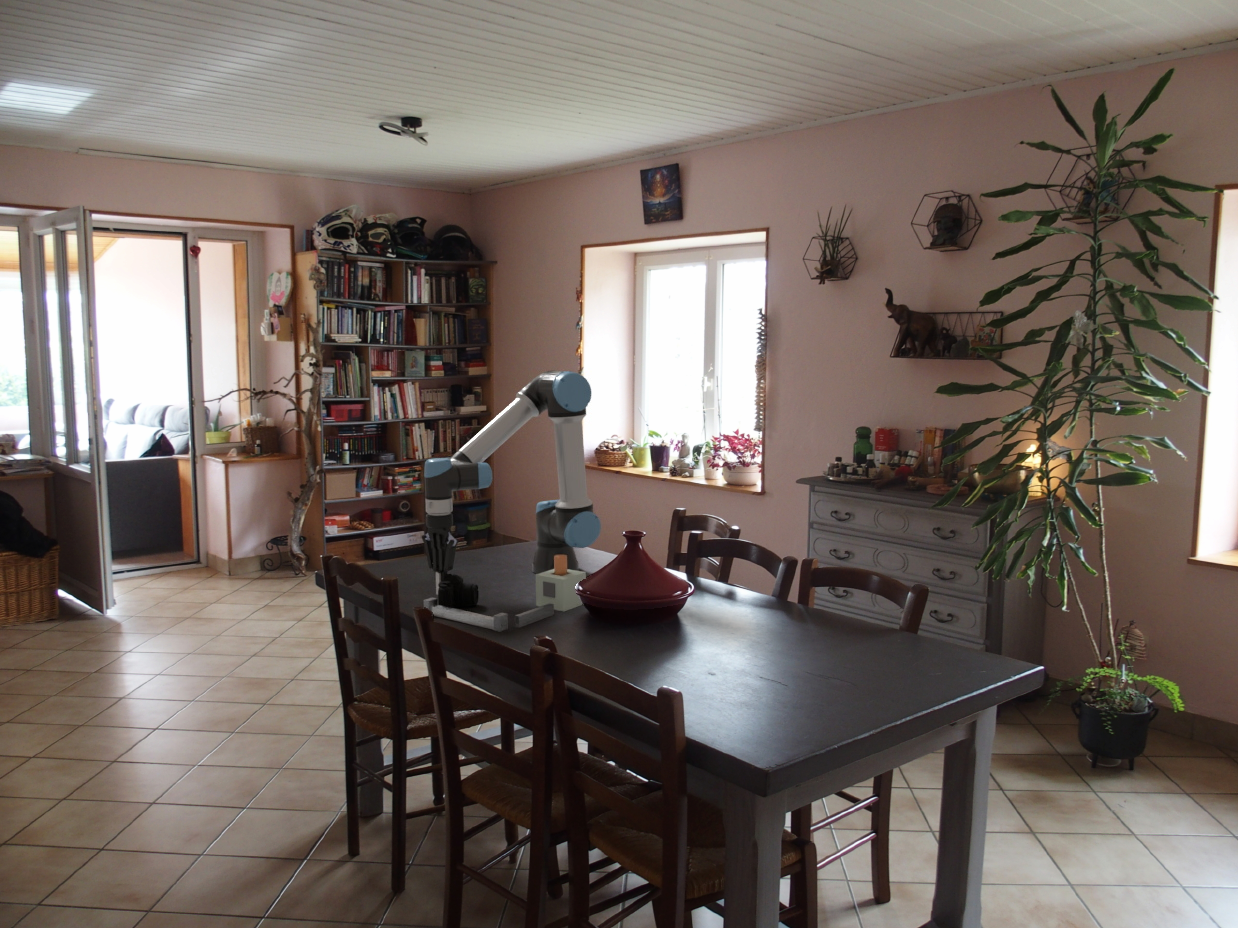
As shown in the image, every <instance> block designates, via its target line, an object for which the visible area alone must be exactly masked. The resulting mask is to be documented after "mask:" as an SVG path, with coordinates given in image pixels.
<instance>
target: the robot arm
mask: <svg viewBox="0 0 1238 928" xmlns="http://www.w3.org/2000/svg"><path fill="white" fill-rule="evenodd" d="M591 399H592V387H591V384H590V382H589V381H588V379H587V378H585V376H583V375H582V374H581V373H579V372H574V371H571V370H547V371H544V372H542V373H540V374H538V375H537V376H535V377H534V378H533V379H532V380H530V381H529V382H528V383H527V384H526V385H525V386H524V387H522V388H521V389H520V390H519V391H518V392H517V393H516V394H515V399H514V400H513V401H512V402H511V403H510V404H508V405H507V406H506V407H505V408H504V409H503V410H502V411H501V412H499V414H497V415H496V416H495V417H494V418H493V419H492V420H490V421H489V422H488V423H487V424H486V425H485V426H484V427H483V428H482V429H481V430H480V431H479V432H478V433H476V435H474V436H473V437H472V438H471V439H470V440H468V441H467V442H466V443H465V444H464V445H463V446H462V447H461V448H460V449H459V450H458V451H456V452H455V453H454V454H453V455H452V456H450V457H449V456H448V457H441V458H440V457H437V458H436V457H435V458H429V459H426V461H425V463H424V474H423V477H424V491H425V492H424V493H425V513H426V514H425V526H426V528H427V533H426V534H422V535H421V539H422V542H423V544H424V550H425V553H426V559H427V565H428V569H432V570H433V572H434V582H435V595H436V596H438V589H439V586H438V584H439V582H442V580H443V578H444V575H446V574H448V573H449V572H450V571H452V570H453V569H454V563H455V558H456V551H457V546H458V543H459V539H458V538H455V537H454V536H453V532H452V527H453V525H454V517H453V516H454V515H453V513H452V512H453V492H457V491H466V490H467V491H469V490H481V489H485V488H489V487H491V485H492V482H493V471H492V468H491V466H490V464H489V463H487V462H485V460H486V459H488V458H489V457H491V455H492V454H493V453H494V452H496V451H497V450H498V448H499V447H501V446H502V445H503V444H504V443H505V442H507V440H508V439H510V438H511V437H512V436H513V435H515V433H516V432H518V431H519V430H520V428H522V427H523V426H524V425H525V424H526V423H528V421H529V420H531V419H532V418H537V417H539V416H540V415H541V414H542V413H544V412H545V411H547V416H548V419H549V420H550V421H552V423H553V430H554V431H553V433H554V443H555V444H554V445H555V454H556V457H555V458H556V468H557V481H558V493H559V494H558V495H559V499H550V500H544V501H539V502H537V504H536V507H535V509H536V510H535V518H536V521H535V522H536V523H535V524H536V550H535V553H534V556H533V560H532V563H531V572H532V573H534V574H535V575H536V574H539V573H542V572H546V571H549V570H552V569H554V556H555V555H567V569H570V570H576V571H580V570H579V569H580V567H579V564H580V563H579V561H578V559H577V554H576V551H575V548H578V549H584V548H589V547H590V546H592V545H593V544H595V541H596V540H597V539H598V538H599V536H600V534H601V529H602V524H601V520H600V517H598V515H597V514H596V513H594V503H593V500H592V499H590V498H589V496H588V488H587V487H588V486H587V485H588V484H587V476H586V475H587V474H586V472H587V471H586V461H585V459H586V458H585V447H584V435H583V419H584V418H585V417H586V416H587V407H588V406H589V405H588V404H589V403H591Z"/></svg>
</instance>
